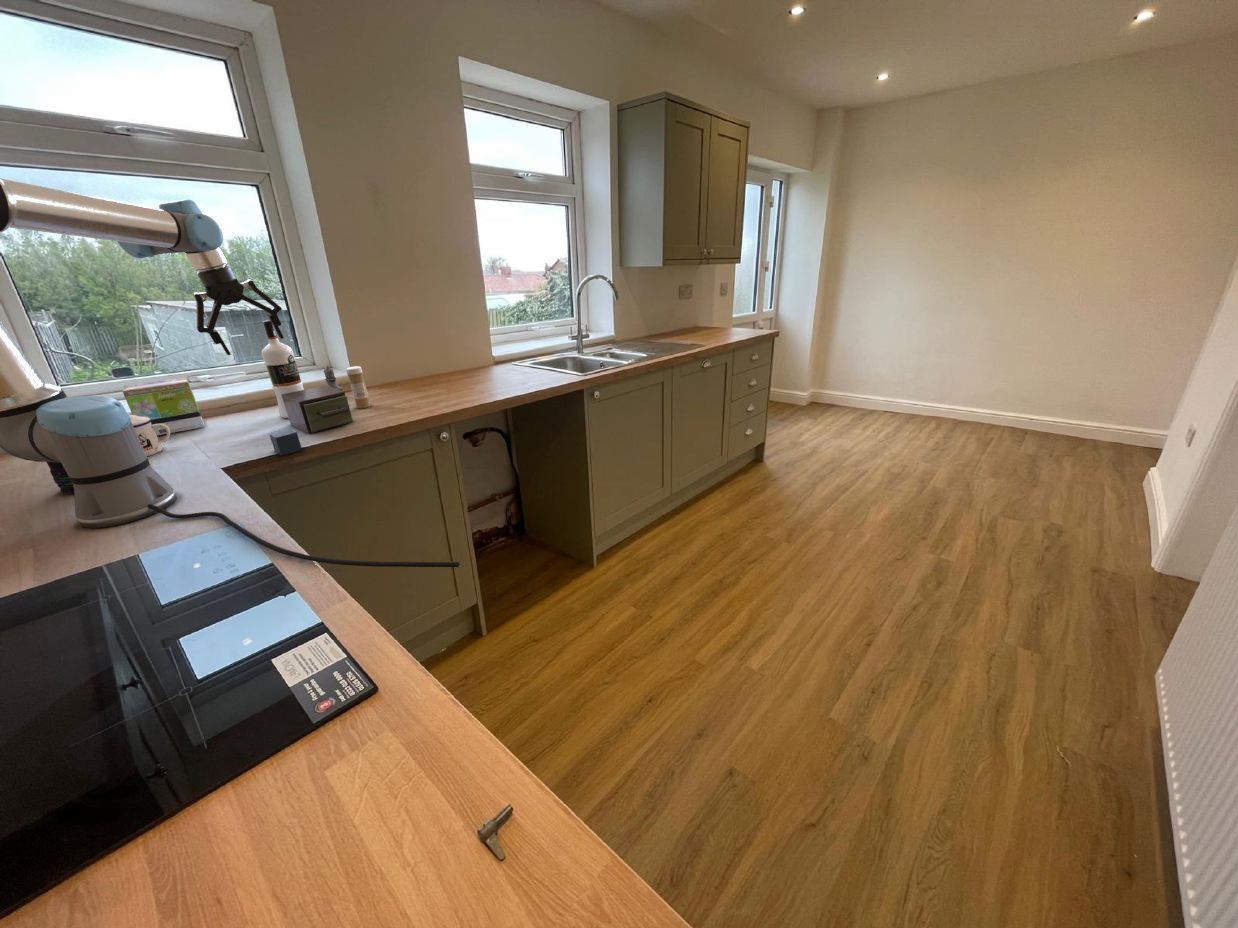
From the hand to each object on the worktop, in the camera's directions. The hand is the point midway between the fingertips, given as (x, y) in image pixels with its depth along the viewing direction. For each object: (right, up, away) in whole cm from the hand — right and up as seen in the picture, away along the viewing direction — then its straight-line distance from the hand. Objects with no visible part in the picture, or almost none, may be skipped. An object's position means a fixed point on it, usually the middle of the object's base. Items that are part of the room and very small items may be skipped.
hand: (255, 345), depth 141 cm
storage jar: (-21, -39, -24) cm, 50 cm away
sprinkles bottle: (+16, -14, +28) cm, 35 cm away
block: (+15, -30, -8) cm, 34 cm away
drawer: (+15, -21, +9) cm, 28 cm away
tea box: (-35, -23, +14) cm, 44 cm away
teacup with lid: (-26, -30, -5) cm, 40 cm away
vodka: (-3, -17, +23) cm, 29 cm away
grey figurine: (0, -10, +40) cm, 41 cm away
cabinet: (+11, -21, +13) cm, 27 cm away
